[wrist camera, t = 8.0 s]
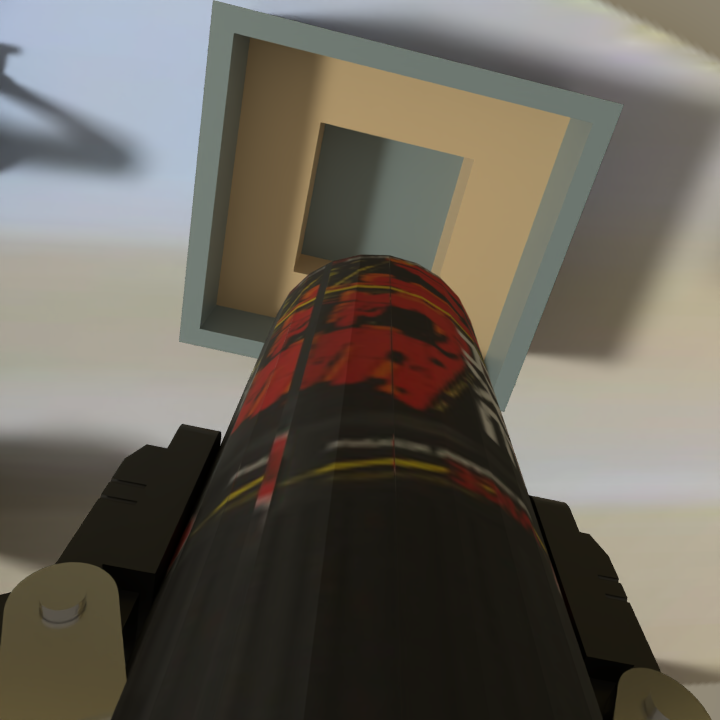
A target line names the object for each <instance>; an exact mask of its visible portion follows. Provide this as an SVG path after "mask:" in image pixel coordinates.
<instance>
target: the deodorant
mask: <svg viewBox="0 0 720 720" xmlns="http://www.w3.org/2000/svg"><path fill="white" fill-rule="evenodd" d="M125 669H126V680H127V681H126V684H125V686H124V689H123V691H122V693H121V696H120V698H119V701H118V703H117V705H116V708H115V710H114V713H113V715H112V718H111V720H603V718H602V715H601V712H600V709H599V706H598V703H597V700H596V697H595V694H594V691H593V688H592V685H591V682H590V679H589V676H588V673H587V670H586V667H585V664H584V661H583V658H582V655H581V651H580V648H579V645H578V642H577V639H576V636H575V633H574V630H573V627H572V624H571V621H570V618H569V615H568V612H567V609H566V606H565V603H564V600H563V597H562V594H561V591H560V588H559V585H558V582H557V579H556V576H555V573H554V570H553V567H552V564H551V561H550V558H549V555H548V552H547V549H546V546H545V543H544V540H543V537H542V534H541V531H540V528H539V525H538V522H537V519H536V516H535V513H534V510H533V507H532V504H531V501H530V498H529V495H528V492H527V489H526V486H525V483H524V480H523V477H522V474H521V471H520V468H519V465H518V462H517V459H516V456H515V453H514V450H513V447H512V444H511V441H510V438H509V435H508V432H507V429H506V426H505V423H504V420H503V417H502V414H501V411H500V408H499V405H498V402H497V399H496V396H495V393H494V390H493V387H492V384H491V381H490V378H489V375H488V372H487V369H486V366H485V363H484V360H483V357H482V354H481V350H480V347H479V344H478V341H477V338H476V335H475V332H474V329H473V326H472V323H471V320H470V318H469V316H468V314H467V312H466V310H465V308H464V306H463V304H462V302H461V300H460V298H459V297H458V296H457V295H456V294H455V292H454V291H453V290H452V289H451V288H450V287H449V286H448V285H447V284H446V283H445V282H444V281H443V280H442V279H441V278H440V277H439V276H437V275H436V274H434V273H432V272H431V271H429V270H427V269H426V268H424V267H422V266H421V265H419V264H417V263H415V262H411V261H408V260H404V259H401V258H397V257H394V256H391V255H357V256H352V257H348V258H343V259H339V260H335V261H332V262H330V263H328V264H326V265H324V266H323V267H321V268H319V269H317V270H315V271H313V272H311V273H309V274H308V275H307V276H306V277H305V278H304V279H303V280H302V281H301V282H300V283H299V284H298V285H297V286H296V287H295V288H293V289H292V290H291V291H290V292H289V294H288V296H287V298H286V299H285V301H284V303H283V304H282V306H281V308H280V310H279V311H278V313H277V315H276V317H275V320H274V322H273V324H272V327H271V329H270V331H269V334H268V336H267V338H266V341H265V343H264V345H263V348H262V350H261V352H260V355H259V357H258V359H257V362H256V364H255V366H254V369H253V371H252V373H251V376H250V378H249V380H248V383H247V385H246V387H245V390H244V392H243V394H242V397H241V399H240V401H239V404H238V406H237V408H236V411H235V413H234V415H233V418H232V420H231V422H230V425H229V427H228V429H227V432H226V434H225V436H224V439H223V441H222V443H221V446H220V448H219V450H218V453H217V455H216V457H215V460H214V462H213V464H212V466H211V469H210V471H209V473H208V476H207V478H206V480H205V483H204V485H203V487H202V490H201V492H200V494H199V497H198V499H197V501H196V504H195V506H194V508H193V511H192V513H191V515H190V518H189V520H188V522H187V525H186V527H185V529H184V532H183V534H182V536H181V539H180V541H179V543H178V546H177V548H176V550H175V553H174V555H173V557H172V560H171V562H170V564H169V567H168V569H167V571H166V574H165V576H164V578H163V581H162V583H161V585H160V588H159V590H158V592H157V595H156V597H155V599H154V602H153V604H152V606H151V609H150V611H149V613H148V616H147V618H146V620H145V623H144V625H143V627H142V630H141V632H140V634H139V637H138V639H137V641H136V643H135V646H134V648H133V650H132V653H131V655H130V657H129V660H128V662H127V664H126V667H125Z"/></svg>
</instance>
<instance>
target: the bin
mask: <svg viewBox="0 0 720 720" xmlns="http://www.w3.org/2000/svg"><path fill="white" fill-rule="evenodd" d="M623 106H624V105H623V104H619V103H615V102H611V101H608V100H604V99H600V98H596V97H592V96H588V95H584V94H580V93H576V92H572V91H568V90H564V89H560V88H556V87H553V86H549V85H545V84H541V83H537V82H533V81H529V80H525V79H521V78H517V77H513V76H509V75H505V74H501V73H497V72H494V71H490V70H486V69H482V68H478V67H474V66H470V65H466V64H462V63H458V62H454V61H450V60H446V59H442V58H439V57H435V56H431V55H427V54H423V53H419V52H415V51H411V50H407V49H403V48H399V47H395V46H391V45H387V44H383V43H380V42H376V41H372V40H368V39H364V38H360V37H356V36H352V35H348V34H344V33H340V32H336V31H332V30H328V29H325V28H321V27H317V26H313V25H309V24H305V23H301V22H297V21H293V20H289V19H285V18H281V17H277V16H273V15H269V14H266V13H262V12H258V11H254V10H250V9H246V8H242V7H238V6H234V5H230V4H226V3H222V2H218V1H214V0H213V5H212V15H211V25H210V36H209V46H208V56H207V66H206V76H205V86H204V96H203V106H202V116H201V126H200V136H199V146H198V156H197V166H196V176H195V186H194V196H193V206H192V217H191V227H190V237H189V247H188V257H187V267H186V277H185V287H184V297H183V307H182V317H181V327H180V337H179V342H183V343H188V344H192V345H197V346H201V347H206V348H211V349H215V350H220V351H225V352H229V353H234V354H239V355H243V356H248V357H252V358H257V359H258V357H259V355H260V352H261V350H262V348H263V345H264V343H265V341H266V338H267V336H268V334H269V331H270V329H271V327H272V324H273V322H274V320H275V317H276V315H277V313H278V311H279V310H280V308H281V306H282V304H283V303H284V301H285V299H286V298H287V296H288V294H289V292H290V291H291V290H292V289H293V288H295V287H296V286H297V285H298V284H299V283H300V282H301V281H302V280H303V279H304V278H305V277H306V276H307V275H308V274H309V273H311V272H313V271H315V270H317V269H319V268H321V267H323V266H324V265H326V264H328V263H330V262H332V261H335V260H339V259H343V258H348V257H352V256H357V255H391V256H394V257H397V258H401V259H404V260H408V261H411V262H415V263H417V264H419V265H421V266H422V267H424V268H426V269H427V270H429V271H431V272H432V273H434V274H436V275H437V276H439V277H440V278H441V279H442V280H443V281H444V282H445V283H446V284H447V285H448V286H449V287H450V288H451V289H452V290H453V291H454V292H455V294H456V295H457V296H458V297H459V298H460V300H461V302H462V304H463V306H464V308H465V310H466V312H467V314H468V316H469V318H470V320H471V323H472V326H473V329H474V332H475V335H476V338H477V341H478V344H479V347H480V350H481V354H482V357H483V360H484V363H485V366H486V369H487V372H488V375H489V378H490V381H491V384H492V387H493V390H494V393H495V396H496V399H497V402H498V405H499V408H500V411H503V412H504V411H505V408H506V406H507V403H508V401H509V398H510V396H511V393H512V391H513V388H514V385H515V383H516V380H517V378H518V375H519V373H520V370H521V367H522V365H523V362H524V360H525V357H526V355H527V352H528V349H529V347H530V344H531V342H532V339H533V337H534V334H535V331H536V329H537V326H538V324H539V321H540V319H541V316H542V314H543V311H544V308H545V306H546V303H547V301H548V298H549V296H550V293H551V290H552V288H553V285H554V283H555V280H556V278H557V275H558V272H559V270H560V267H561V265H562V262H563V260H564V257H565V255H566V252H567V249H568V247H569V244H570V242H571V239H572V237H573V234H574V231H575V229H576V226H577V224H578V221H579V219H580V216H581V213H582V211H583V208H584V206H585V203H586V201H587V198H588V196H589V193H590V190H591V188H592V185H593V183H594V180H595V178H596V175H597V172H598V170H599V167H600V165H601V162H602V160H603V157H604V154H605V152H606V149H607V147H608V144H609V142H610V139H611V137H612V134H613V131H614V129H615V126H616V124H617V121H618V119H619V116H620V113H621V111H622V108H623Z"/></svg>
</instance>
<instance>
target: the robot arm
mask: <svg viewBox="0 0 720 720" xmlns="http://www.w3.org/2000/svg"><path fill="white" fill-rule="evenodd" d="M220 443H221V432H220V431H215V430H210V429H205V428H200V427H195V426H190V425H185V424H182V425H181V426H180V427H179V429H178V430H177V432H176V434H175V436H174V437H173V439H172V441H171V443H170V445H169V446H168V448H162V447H157V446H152V445H145V446H144V447H142V448H141V449H139V450H137V451H136V452H134V453H133V454H131V455H130V456H128V457H127V458H125V459H124V461H123V462H122V464H121V465H120V467H119V468H118V470H117V471H116V473H115V474H114V476H113V477H112V480H111V482H109V483H108V485H107V486H106V488H105V489H104V491H103V493H102V494H101V498H100V499H98V500H97V502H96V503H95V505H94V506H93V508H92V509H91V511H90V512H89V514H88V515H87V517H86V518H85V520H84V521H83V523H82V525H81V526H80V528H79V529H78V531H77V532H76V534H75V535H74V537H73V538H72V540H71V541H70V543H69V544H68V546H67V547H66V549H65V550H64V552H63V553H62V555H61V557H60V558H59V560H58V561H57V562H56V564H55V565H51V566H48V567H45V568H42V569H40V570H38V571H36V572H34V573H32V574H31V575H29V576H27V577H26V578H25V579H23V580H22V581H21V582H20V583H19V584H18V585H17V586H16V587H15V588H14V589H13V590H12V592H10V593H6V594H2V595H0V720H111V718H112V715H113V713H114V710H115V708H116V705H117V703H118V701H119V698H120V696H121V693H122V691H123V689H124V686H125V684H126V681H127V680H126V669H125V667H126V664H127V662H128V660H129V657H130V655H131V653H132V650H133V648H134V646H135V643H136V641H137V639H138V637H139V634H140V632H141V630H142V627H143V625H144V623H145V620H146V618H147V616H148V613H149V611H150V609H151V606H152V604H153V602H154V599H155V597H156V595H157V592H158V590H159V588H160V585H161V583H162V581H163V578H164V576H165V574H166V571H167V569H168V567H169V564H170V562H171V560H172V557H173V555H174V553H175V550H176V548H177V546H178V543H179V541H180V539H181V536H182V534H183V532H184V529H185V527H186V525H187V522H188V520H189V518H190V515H191V513H192V511H193V508H194V506H195V504H196V501H197V499H198V497H199V494H200V492H201V490H202V487H203V485H204V483H205V480H206V478H207V476H208V473H209V471H210V469H211V466H212V464H213V462H214V460H215V457H216V455H217V453H218V450H219V448H220ZM529 498H530V501H531V504H532V507H533V510H534V513H535V516H536V519H537V522H538V525H539V528H540V531H541V534H542V537H543V540H544V543H545V546H546V549H547V552H548V555H549V558H550V561H551V564H552V567H553V570H554V573H555V576H556V579H557V582H558V585H559V588H560V591H561V594H562V597H563V600H564V603H565V606H566V609H567V612H568V615H569V618H570V621H571V624H572V627H573V630H574V633H575V636H576V639H577V642H578V645H579V648H580V651H581V655H582V658H583V661H584V664H585V667H586V670H587V673H588V676H589V679H590V682H591V685H592V688H593V691H594V694H595V697H596V700H597V703H598V706H599V709H600V712H601V715H602V718H603V720H711V718H710V716H709V714H708V713H707V711H706V710H705V708H704V707H703V706H702V704H701V703H700V702H699V701H698V699H696V697H695V696H694V695H693V694H692V693H691V692H690V691H688V690H687V689H686V688H685V687H684V686H683V685H681V684H680V683H678V682H677V681H676V680H674V679H672V678H671V677H669V676H667V675H665V674H663V673H661V671H660V669H659V667H658V664H657V662H656V660H655V658H654V655H653V653H652V651H651V649H650V647H649V644H648V642H647V640H646V638H645V636H644V633H643V631H642V629H641V627H640V625H639V622H638V620H637V618H636V616H635V614H634V611H633V609H632V607H631V605H630V603H628V602H627V596H626V594H625V591H624V589H623V587H622V585H621V583H618V580H619V578H618V576H617V574H616V572H615V569H614V567H613V565H612V563H611V560H610V558H609V556H608V555H607V554H606V553H605V551H604V550H603V549H602V548H601V547H600V546H599V545H598V543H597V542H596V541H595V540H594V539H593V538H592V537H591V536H590V534H586V533H581V532H579V529H578V527H577V525H576V522H575V520H574V517H573V515H572V513H571V510H570V508H569V506H568V505H567V504H566V503H564V502H559V501H555V500H550V499H545V498H540V497H535V496H530V495H529Z"/></svg>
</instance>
